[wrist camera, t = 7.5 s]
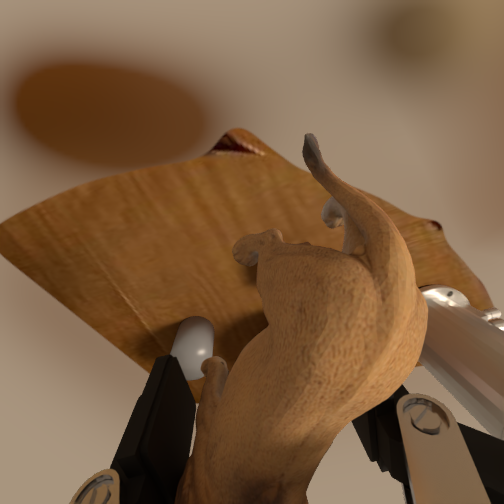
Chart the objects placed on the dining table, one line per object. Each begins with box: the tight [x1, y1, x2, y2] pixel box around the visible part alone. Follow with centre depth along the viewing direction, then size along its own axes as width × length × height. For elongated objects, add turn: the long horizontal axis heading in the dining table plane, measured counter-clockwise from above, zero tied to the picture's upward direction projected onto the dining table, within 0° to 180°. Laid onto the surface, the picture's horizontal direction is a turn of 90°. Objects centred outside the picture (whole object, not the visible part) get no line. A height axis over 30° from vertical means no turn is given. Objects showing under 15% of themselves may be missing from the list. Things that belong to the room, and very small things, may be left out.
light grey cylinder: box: [170, 316, 214, 380], centre depth 32 cm, size 5×5×6 cm
